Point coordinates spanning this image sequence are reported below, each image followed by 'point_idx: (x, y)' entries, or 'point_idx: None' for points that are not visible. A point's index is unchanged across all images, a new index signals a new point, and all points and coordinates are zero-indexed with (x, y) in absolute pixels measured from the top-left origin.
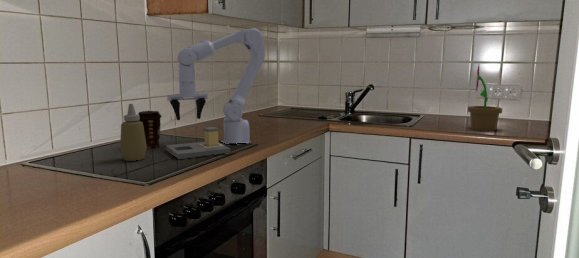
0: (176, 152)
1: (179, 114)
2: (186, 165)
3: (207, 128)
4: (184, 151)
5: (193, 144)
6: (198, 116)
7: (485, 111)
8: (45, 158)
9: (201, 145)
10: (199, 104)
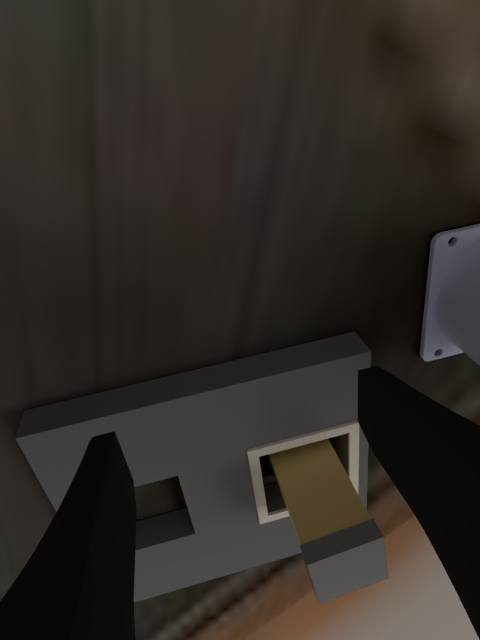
0: None
1: (130, 562)
2: (143, 630)
3: (322, 584)
4: (144, 573)
5: (211, 442)
6: (371, 439)
7: None
8: None
9: (251, 479)
10: (474, 621)
